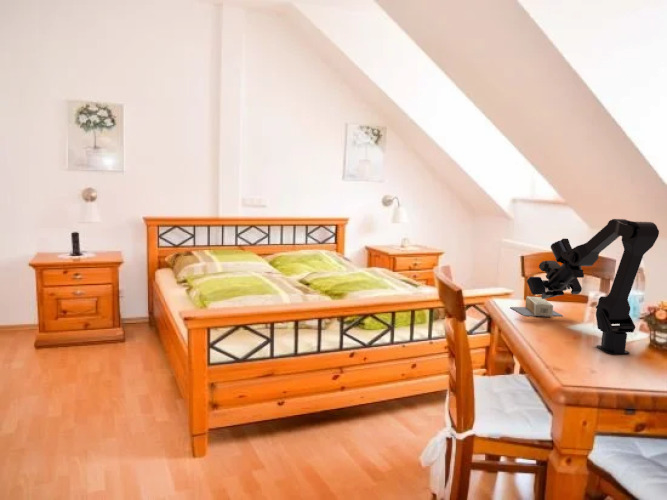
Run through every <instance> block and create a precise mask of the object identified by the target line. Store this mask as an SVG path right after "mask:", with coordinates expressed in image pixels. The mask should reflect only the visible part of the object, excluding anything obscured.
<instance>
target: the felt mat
mask: <svg viewBox="0 0 667 500" xmlns="http://www.w3.org/2000/svg"><path fill="white" fill-rule="evenodd" d="M509 308H510V309H511V310H513V311H514V312H516V313H518V314H520V315H522V317H536V316H535V315H534V314H533V313H532V312H531V311H530V310H529V309H527V308H526V307H525V306H511V307H509ZM551 317H564V315H563V314H562V313H559V312H557V311H555V310H553V313H552V316H551Z"/></svg>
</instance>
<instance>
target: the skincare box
mask: <svg viewBox="0 0 667 500" xmlns="http://www.w3.org/2000/svg"><path fill="white" fill-rule="evenodd" d="M524 307H526V308H527V309H529V310H530V311H531V312H532V313H533V314H534V315H535V316H534V317H553V316H552V313H553V311H554V304H552V303H551V302H549V301H548V300H547V299H542V298H541V296H529V295H527V296H526V297H525V306H524Z"/></svg>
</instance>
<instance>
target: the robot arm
mask: <svg viewBox="0 0 667 500" xmlns="http://www.w3.org/2000/svg"><path fill="white" fill-rule="evenodd" d="M659 234H660V230H659V228H658V226H657V225H656V224H655V223H654V222H652V221H631V220H627V219H626V218H612V219H610V220H609V221H608V222H607V223H606V225H605V226H604V227H602V228H601V230H599V231H598V232H597V233H595V235H593V236H592V237H591V238H590V239H589V240H587V241H586V242H585V243H582V244H580V245H576V246H575V247H572V246H571V244H570V240H569V239H568V238H561V240H557V241H555V242H553V243H552V244H551V245H550V250H551V252H552V254H553V256H554V258H555V260H543V261H541V262H540V263H539V265H538V268H539V270H540V271H541V272H544V273H545V274H546V275H545V278H546V279H547V280H545V279H544V280H543V279H542V277H541V276H529V278H528V279H527V280H526V283H527V286H528V289H529V290H530V292H531V294H532V295H534V296H536V295H537V296H540V297H541V298H542V299H545V300H547V299H549V298H554V297H559V296H564V295H565V293H564V292H565V291H566V290H570V294H571V295H580V294H581V292H582V291H583V287H582V285H581V283H580V281H579V279H583V278H584V277H585V273H584V269H583V268H582V267H592V266H593V265H594V264H596V262H597V261H598V259H599V255H600V253H601V252H602V251H604V250H605V249H606V248H607V247H608V246H610V245H611V244H612V243H613V242H615V241H616V240H617V239H619V238H620V237H621V244H622V247H623V253H622V256H621V259H620V262H619V265H618V267H617V270H616V274H615V276H614V278H613V281H612V284H611V288H610V291H609V293H608V294H607V295H605V296H599V298H598V303H597V304H596V306H595V309H596V311H595V317H596V325H597V329H598V330H600V332H602V334H601V343H600V345H599V344H598V345H596V348H598V349H600V350H601V351H603V352H605V353H606V354H609V355H630V352H629V351H628V350H626V346H627V345H626V344H627V339H628V337H627V336H628V334H627V333H632V334H633V333H634V331H635V329H636V325H635V323H634V321H633V318H632V317H631V315H630V312H631V306H630V301H629V297H630V294H631V291H632V288H633V285H634V283H635V279H636V276H637V274H638V271H639V269H640V266H641V263H642V260H643V258H644V255H645V254H646V253H647V252H648V251H649V250H650V249H652V248H653V247H654V246H655V243H656V241H657V240H658V238H659ZM560 264H561V265H560Z"/></svg>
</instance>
